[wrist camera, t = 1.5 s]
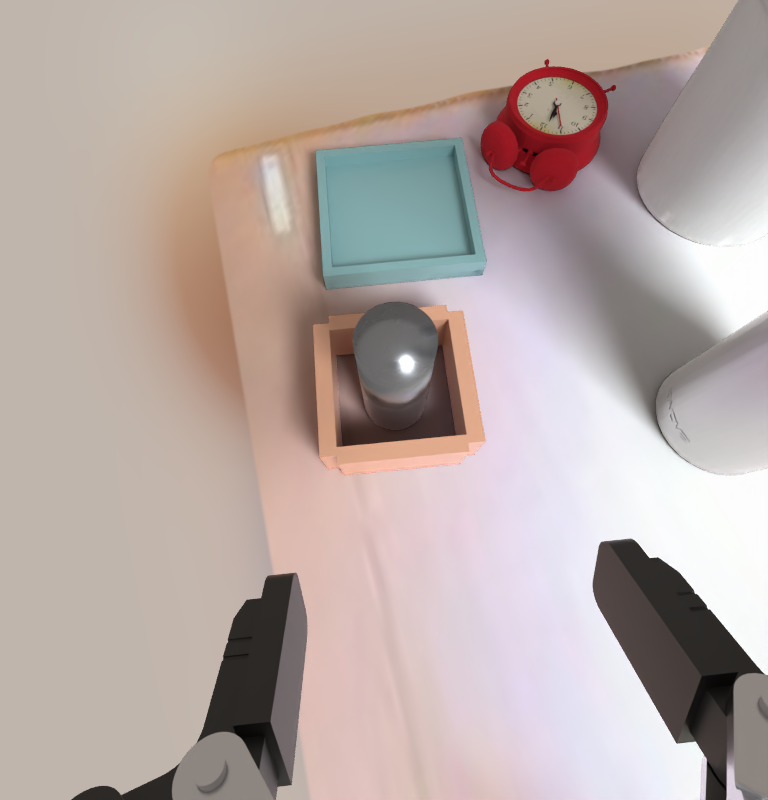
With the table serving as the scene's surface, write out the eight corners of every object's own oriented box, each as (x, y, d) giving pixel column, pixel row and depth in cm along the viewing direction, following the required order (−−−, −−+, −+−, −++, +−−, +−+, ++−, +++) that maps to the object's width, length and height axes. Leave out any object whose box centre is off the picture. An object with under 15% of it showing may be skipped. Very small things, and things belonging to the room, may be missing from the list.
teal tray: (459, 155, 45) (461, 137, 43) (482, 275, 40) (486, 261, 38) (318, 167, 45) (315, 150, 43) (326, 289, 40) (323, 276, 38)
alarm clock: (635, 82, 43) (588, 155, 36) (601, 147, 48) (554, 221, 41) (535, 45, 45) (472, 106, 38) (513, 111, 50) (454, 176, 43)
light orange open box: (454, 331, 38) (461, 303, 34) (475, 462, 35) (487, 449, 31) (321, 343, 38) (312, 317, 34) (328, 476, 35) (319, 466, 30)
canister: (421, 369, 37) (432, 298, 27) (429, 426, 36) (443, 375, 25) (361, 374, 37) (349, 305, 27) (366, 432, 36) (355, 383, 25)
